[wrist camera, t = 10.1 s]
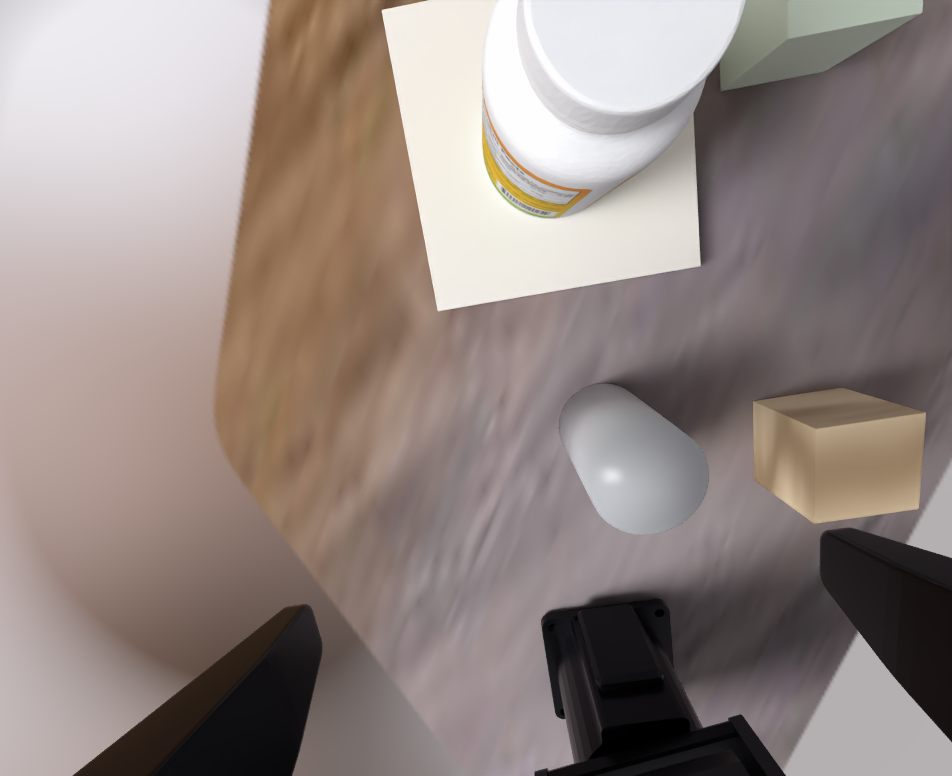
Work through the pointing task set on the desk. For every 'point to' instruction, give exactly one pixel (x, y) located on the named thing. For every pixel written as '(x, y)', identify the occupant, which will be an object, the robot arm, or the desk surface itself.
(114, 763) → the robot arm
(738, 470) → the desk surface
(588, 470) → the grey capsule
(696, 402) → the desk surface
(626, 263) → the ceramic tile
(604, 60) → the supplement bottle
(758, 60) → the sage block
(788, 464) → the beech block
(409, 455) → the desk surface
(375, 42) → the desk surface
